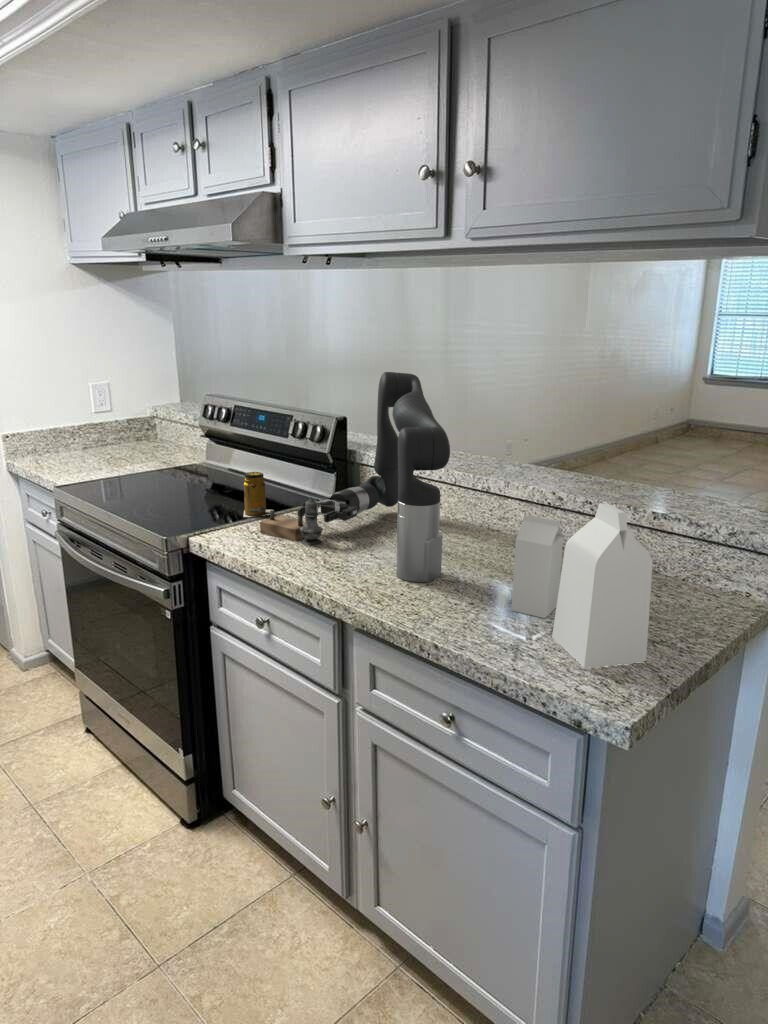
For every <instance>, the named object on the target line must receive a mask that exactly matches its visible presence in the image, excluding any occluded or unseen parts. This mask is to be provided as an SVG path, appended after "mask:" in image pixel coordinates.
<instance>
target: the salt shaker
mask: <svg viewBox="0 0 768 1024" xmlns="http://www.w3.org/2000/svg"><path fill="white" fill-rule="evenodd" d="M305 502H306V503H305V514H304V515H305V516H304V522H305V526H303V527H301V528H300V531H301V534H302V536H303V537H304V539H302V540H301V541H300V543H301V545H304V546H318V545H321V544H322V543H323V542H322V540H321V539H320V537H321V535H322V532H323V530H324V528H323V527H322V526H320V525H319V523H318V516H319V515H318V513H317V503H316V501H314V499H313V497H312V496H310V497H309V499H308V500H306V501H305Z"/></svg>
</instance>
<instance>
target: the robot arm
mask: <svg viewBox="0 0 768 1024" xmlns="http://www.w3.org/2000/svg"><path fill="white" fill-rule="evenodd" d="M378 382H379V383H378V389H377V407H376V408H377V411H376V415H377V417H376V418H377V419H376V428H377V429H376V431H377V432H376V433H377V434H376V435H377V436H376V449H375V456H374V465H373V469H374V472H375V473H376V474H377V475H372V476H370V477H369V478H368V479H367V480H366V481H365V482H364V483H362V484H361V485H358V486H355V487H354V486H353V487H348V488H345V489H342V490H340V491H336V492H333V493H332V495H331V496H330V497H329V499H325V500H320V499H318V498H315V499H313V500H314V501H316V503H317V513H318V516H323V522H324V523H330V522H332V521H340V520H342V521H344V522H346V521H348V520H350V519H353V518H356V517H357V516H358V515H359V514H361V513H363V512H365V511H367V510H370V509H372V508H374V507H376V506H377V505H378V503H379V504H381V505H383V506H385V507H388V508H391V507H394V506H395V505H397V526H396V529H397V530H396V564H395V566H396V567H395V568H396V569H395V570H396V573H395V575H396V577H397V578H399V579H401V580H404V581H408V582H416V583H417V582H419V583H420V582H422V583H430V582H431V581H433V580H434V579H437V578H438V577H440V576H441V575H442V562H443V561H442V560H443V559H442V557H443V555H442V554H443V534H442V533H440V518H441V517H440V514H441V513H440V512H441V511H440V510H441V490H440V489H439V487H438V486H436V485H434V484H431V483H428V482H425V481H422V480H421V479H419V478H417V477H416V476H415V475H414V472H415V471H438V470H441V469H444V468H445V467H446V466H447V464H448V462H449V460H450V456H451V446H450V441H449V437H448V435H447V432H446V431H445V429H444V428H443V427H442V426H441V424H440V423H439V422H438V421H437V420H436V418H435V417H434V414H433V412H432V409H431V407H430V405H429V403H428V401H427V399H426V398H425V396H424V392H423V388H422V383H421V381H420V379H419V377H418V376H417V375H416V374H413V373H406V372H394V371H385V372H383V373H382V374H381V377H380V378H379V381H378ZM390 408H392V419H393V422H394V425H395V427H396V430H397V431H398V432H399V433H398V434H397V432H396V430H395V428H394V425H393V424H392V421H391V419H390V413H389V410H390ZM305 503H306V501H303V502H302V503H301V507H299V508H297V517H298V516H299V517H302V516H303V517H305V515H304V514H305ZM319 509H320V511H319Z"/></svg>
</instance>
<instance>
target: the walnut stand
mask: <svg viewBox="0 0 768 1024" xmlns="http://www.w3.org/2000/svg"><path fill="white" fill-rule="evenodd" d="M269 510H270V516H269V518H267V519H263V520H261V521H259V526H260V527H259V528H260V529H259V532H260V534H264V535H268V536H273V537H278V538H282V539H287V540H289V541H295V542H296V541H299V540H301V539H302V540H303V538H304V537H303V536H302V534H301V531H300V528H301V527H303V526H305V520H304V518H303V517H304V516H302V517H299V516H298V515H297V519H295V518H290V517H285V516H280V515H277V516H275V510H274V509H269ZM303 520H304V521H303ZM304 539H305V538H304Z"/></svg>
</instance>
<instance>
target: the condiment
mask: <svg viewBox="0 0 768 1024" xmlns="http://www.w3.org/2000/svg"><path fill="white" fill-rule="evenodd" d="M266 494H267V493H266V483H265V479H264V473H263V472H259V471H249V472H245V474H244V483H243V497H244V499H243V500H244V510H243V518H259V517H263V516H262V515H265V514H267V513H270V510H271V509H267V502H266V501H267V500H266ZM264 517H270V516H269V515H267V516H266V515H265V516H264Z"/></svg>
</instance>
